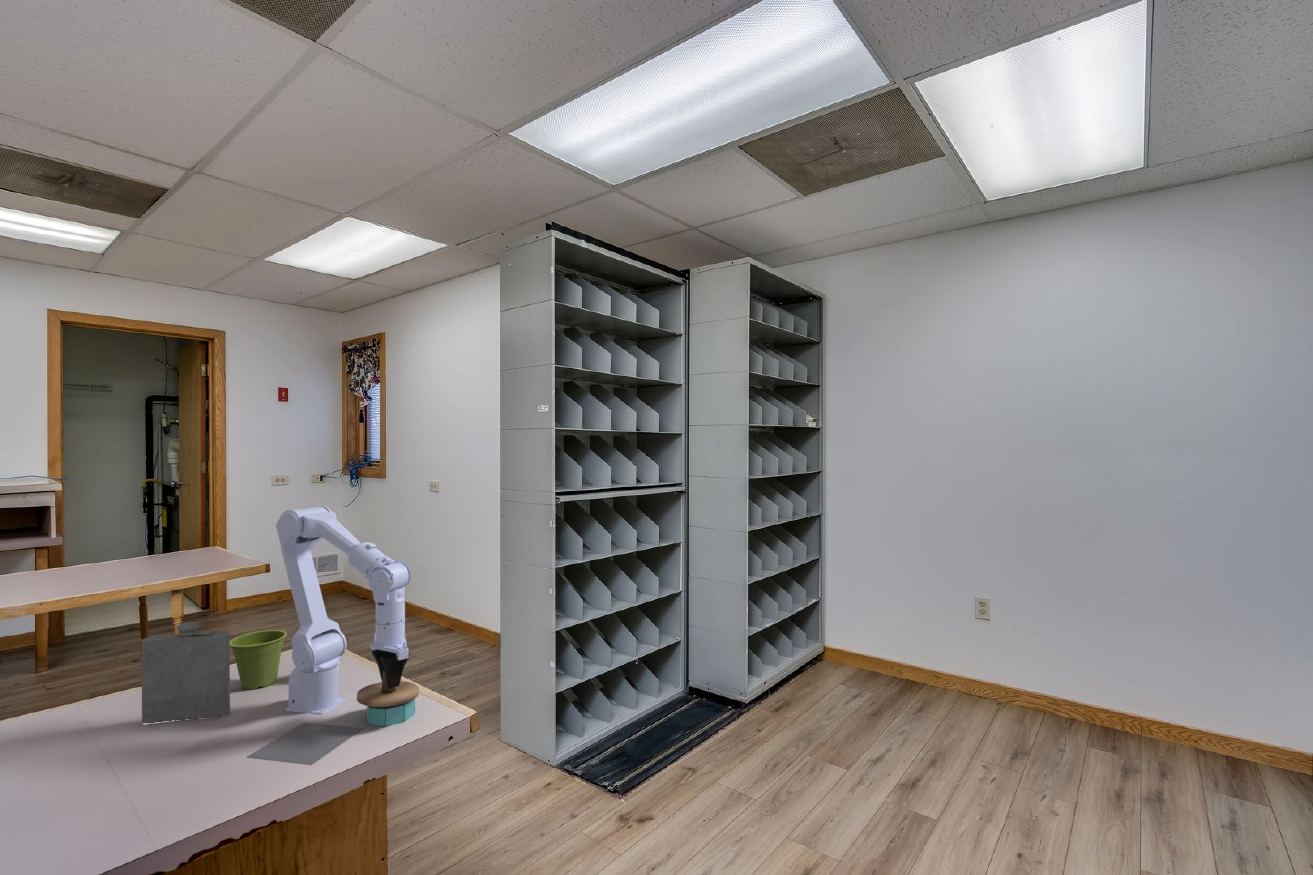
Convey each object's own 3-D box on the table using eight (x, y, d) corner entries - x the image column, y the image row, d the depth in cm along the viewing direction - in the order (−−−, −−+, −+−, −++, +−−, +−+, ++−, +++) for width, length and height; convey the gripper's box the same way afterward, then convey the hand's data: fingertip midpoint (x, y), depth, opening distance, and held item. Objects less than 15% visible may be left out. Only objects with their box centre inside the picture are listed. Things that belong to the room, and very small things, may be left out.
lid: (343, 702, 124) (345, 677, 124) (380, 682, 136) (382, 660, 136) (397, 709, 122) (398, 684, 122) (429, 689, 134) (431, 665, 134)
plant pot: (241, 677, 152) (240, 631, 152) (294, 672, 155) (293, 628, 155) (219, 696, 141) (219, 647, 141) (277, 691, 143) (276, 643, 143)
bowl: (357, 726, 126) (357, 707, 126) (385, 707, 135) (385, 689, 135) (396, 730, 124) (396, 710, 124) (422, 710, 133) (422, 692, 133)
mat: (246, 758, 113) (246, 756, 113) (304, 724, 127) (304, 722, 127) (311, 766, 110) (311, 764, 110) (363, 730, 124) (363, 728, 124)
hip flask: (138, 726, 126) (137, 629, 126) (149, 717, 130) (149, 624, 130) (226, 717, 130) (225, 623, 130) (234, 709, 134) (233, 618, 134)
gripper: (359, 617, 132) (359, 680, 132) (383, 632, 121) (383, 700, 121) (392, 610, 137) (392, 671, 137) (418, 625, 126) (418, 690, 126)
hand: (390, 684), depth 129 cm, fingers closed on lid, 3 cm apart
